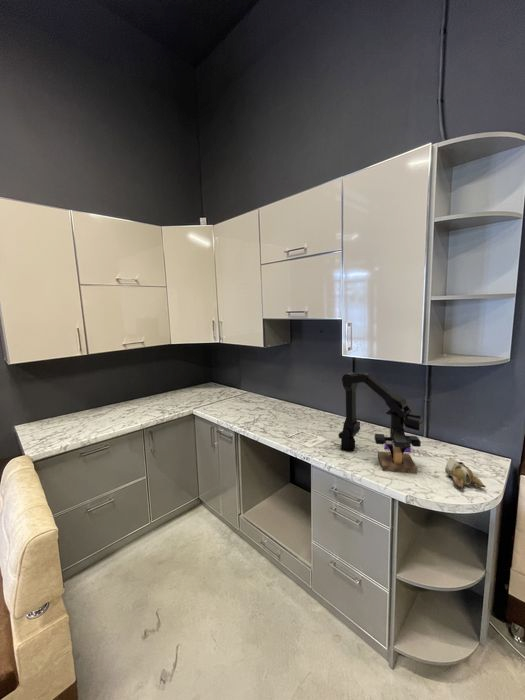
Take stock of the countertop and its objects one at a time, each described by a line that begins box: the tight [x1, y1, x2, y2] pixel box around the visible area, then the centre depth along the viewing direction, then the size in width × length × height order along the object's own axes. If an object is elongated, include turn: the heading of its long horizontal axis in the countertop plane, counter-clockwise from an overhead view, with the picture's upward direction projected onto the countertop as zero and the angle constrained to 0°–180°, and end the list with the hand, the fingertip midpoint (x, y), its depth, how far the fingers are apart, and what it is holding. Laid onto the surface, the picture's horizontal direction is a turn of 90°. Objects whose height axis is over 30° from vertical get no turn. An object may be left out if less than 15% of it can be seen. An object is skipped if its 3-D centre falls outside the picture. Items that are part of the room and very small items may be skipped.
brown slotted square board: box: [377, 451, 418, 474], centre depth 141 cm, size 14×14×2 cm
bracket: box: [384, 434, 412, 453], centre depth 158 cm, size 12×7×7 cm, turn 67°
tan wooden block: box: [391, 445, 402, 464], centre depth 140 cm, size 3×8×6 cm, turn 168°
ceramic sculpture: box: [444, 457, 487, 489], centre depth 125 cm, size 11×9×15 cm
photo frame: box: [284, 430, 328, 449], centre depth 171 cm, size 15×1×18 cm
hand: (396, 457), depth 141 cm, fingers closed on tan wooden block, 3 cm apart
